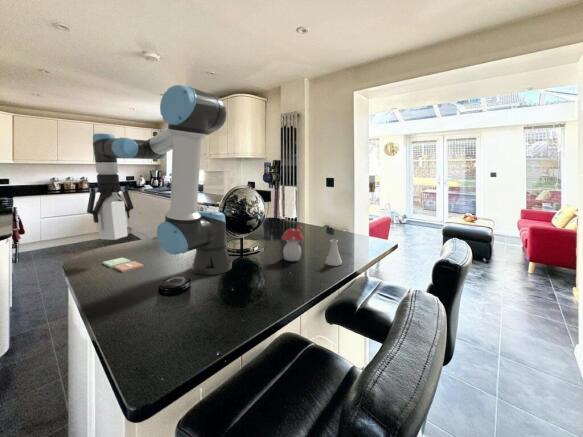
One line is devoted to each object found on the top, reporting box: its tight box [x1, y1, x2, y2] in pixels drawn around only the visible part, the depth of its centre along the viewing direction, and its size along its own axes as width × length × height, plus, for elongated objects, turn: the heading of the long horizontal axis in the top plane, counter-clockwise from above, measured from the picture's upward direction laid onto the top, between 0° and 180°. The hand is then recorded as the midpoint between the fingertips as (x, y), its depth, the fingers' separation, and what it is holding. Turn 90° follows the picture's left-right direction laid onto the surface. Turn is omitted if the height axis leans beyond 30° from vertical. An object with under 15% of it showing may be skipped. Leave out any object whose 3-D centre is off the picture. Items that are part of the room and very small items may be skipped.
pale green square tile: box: [102, 256, 132, 268], centre depth 125 cm, size 8×8×1 cm
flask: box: [324, 239, 343, 267], centre depth 123 cm, size 7×7×10 cm
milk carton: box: [95, 192, 129, 241], centre depth 122 cm, size 7×7×19 cm
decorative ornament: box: [281, 225, 304, 262], centre depth 128 cm, size 9×7×15 cm
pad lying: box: [113, 260, 144, 273], centre depth 120 cm, size 8×8×1 cm
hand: (113, 228), depth 123 cm, fingers closed on milk carton, 9 cm apart
